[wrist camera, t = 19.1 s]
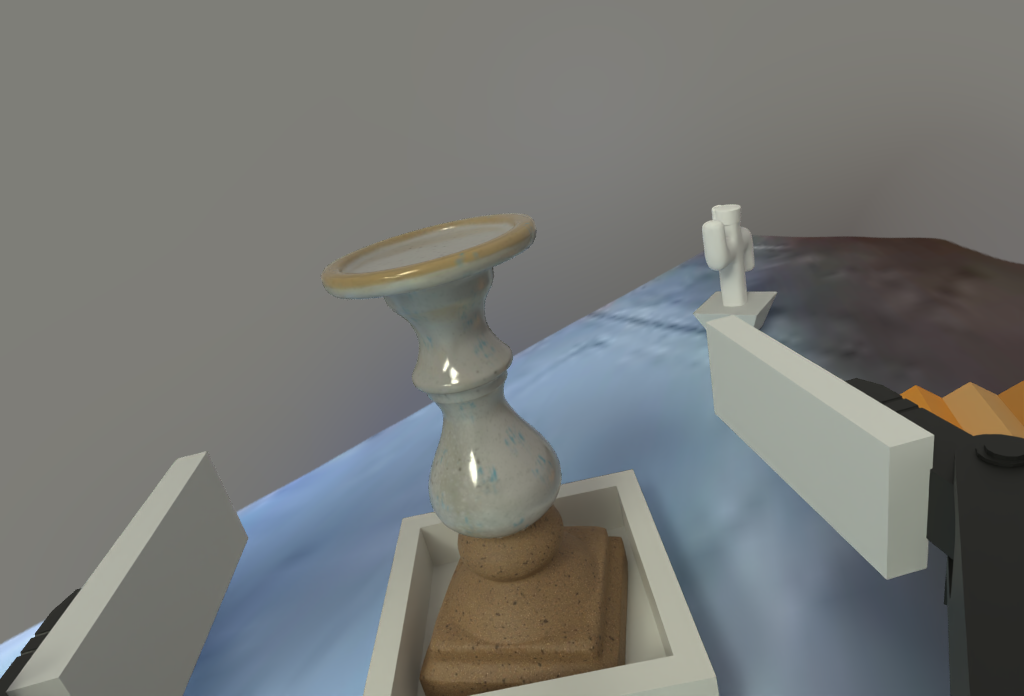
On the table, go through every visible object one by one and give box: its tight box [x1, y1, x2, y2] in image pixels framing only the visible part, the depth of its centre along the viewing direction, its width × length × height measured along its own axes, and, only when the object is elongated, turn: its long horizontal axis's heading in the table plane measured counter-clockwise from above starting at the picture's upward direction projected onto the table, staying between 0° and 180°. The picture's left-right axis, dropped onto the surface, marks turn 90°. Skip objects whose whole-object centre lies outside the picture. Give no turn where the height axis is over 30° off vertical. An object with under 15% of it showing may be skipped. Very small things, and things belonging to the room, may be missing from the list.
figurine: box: [693, 204, 777, 330], centre depth 68 cm, size 7×9×15 cm
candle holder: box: [321, 213, 628, 696], centre depth 32 cm, size 11×11×24 cm
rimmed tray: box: [363, 469, 719, 696], centre depth 36 cm, size 17×17×4 cm
